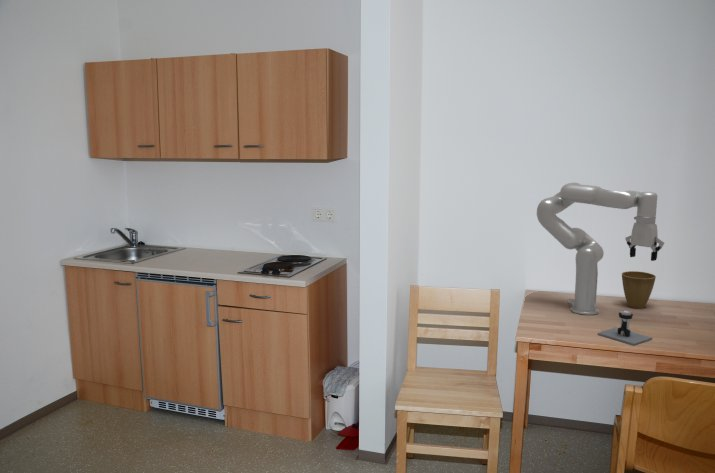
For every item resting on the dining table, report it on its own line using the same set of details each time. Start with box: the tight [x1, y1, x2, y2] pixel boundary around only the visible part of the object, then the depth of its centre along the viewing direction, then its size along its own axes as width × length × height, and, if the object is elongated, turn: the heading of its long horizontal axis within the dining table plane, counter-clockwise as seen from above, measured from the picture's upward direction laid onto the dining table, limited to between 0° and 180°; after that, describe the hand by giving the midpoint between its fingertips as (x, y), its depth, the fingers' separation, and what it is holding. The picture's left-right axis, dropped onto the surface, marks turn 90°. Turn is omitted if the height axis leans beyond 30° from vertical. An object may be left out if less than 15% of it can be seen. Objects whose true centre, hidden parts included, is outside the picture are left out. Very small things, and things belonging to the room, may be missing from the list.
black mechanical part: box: [616, 309, 634, 337], centre depth 239 cm, size 7×5×10 cm
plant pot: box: [621, 270, 657, 309], centre depth 282 cm, size 15×15×16 cm
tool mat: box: [597, 327, 653, 346], centre depth 239 cm, size 16×13×1 cm
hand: (642, 258), depth 257 cm, fingers open, 9 cm apart
